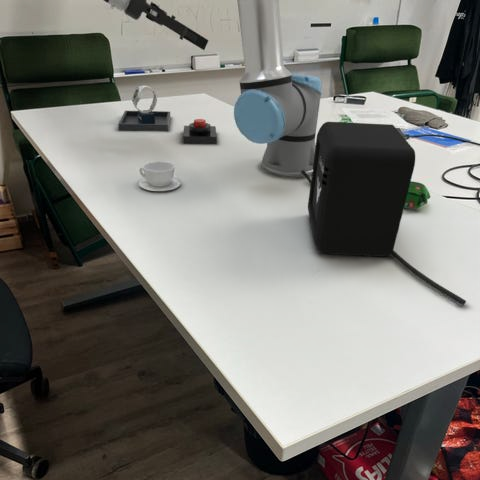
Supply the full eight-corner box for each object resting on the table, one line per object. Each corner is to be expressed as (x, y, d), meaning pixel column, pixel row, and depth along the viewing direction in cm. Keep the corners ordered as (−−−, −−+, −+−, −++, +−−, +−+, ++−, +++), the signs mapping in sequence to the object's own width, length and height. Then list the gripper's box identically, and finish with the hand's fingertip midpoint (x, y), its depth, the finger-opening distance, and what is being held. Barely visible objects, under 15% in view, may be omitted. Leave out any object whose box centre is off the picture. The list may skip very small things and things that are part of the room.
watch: (132, 120, 161) (129, 85, 154) (155, 119, 163) (153, 84, 157) (136, 125, 157) (133, 88, 150) (160, 123, 159) (158, 87, 153)
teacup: (186, 181, 119) (185, 162, 116) (171, 195, 111) (170, 175, 108) (149, 175, 121) (147, 157, 118) (131, 189, 113) (129, 170, 110)
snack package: (362, 191, 117) (366, 171, 114) (428, 203, 113) (434, 181, 110) (356, 202, 112) (360, 180, 109) (425, 214, 108) (432, 192, 105)
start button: (205, 128, 145) (205, 122, 144) (194, 127, 145) (193, 121, 144) (205, 124, 148) (205, 119, 147) (194, 124, 148) (193, 118, 147)
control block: (216, 144, 144) (216, 130, 142) (183, 143, 144) (183, 130, 141) (215, 133, 154) (215, 120, 152) (184, 132, 153) (183, 119, 151)
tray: (168, 131, 154) (167, 124, 153) (118, 130, 153) (118, 124, 151) (170, 117, 168) (170, 111, 167) (125, 116, 167) (124, 110, 166)
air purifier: (305, 213, 106) (317, 118, 94) (371, 216, 106) (391, 121, 94) (312, 257, 90) (328, 149, 78) (390, 261, 89) (418, 153, 78)
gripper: (116, 6, 134) (183, 46, 145) (130, 18, 115) (205, 63, 127) (127, -22, 131) (194, 20, 142) (142, -15, 112) (218, 34, 124)
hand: (199, 41), depth 134 cm, fingers open, 13 cm apart
